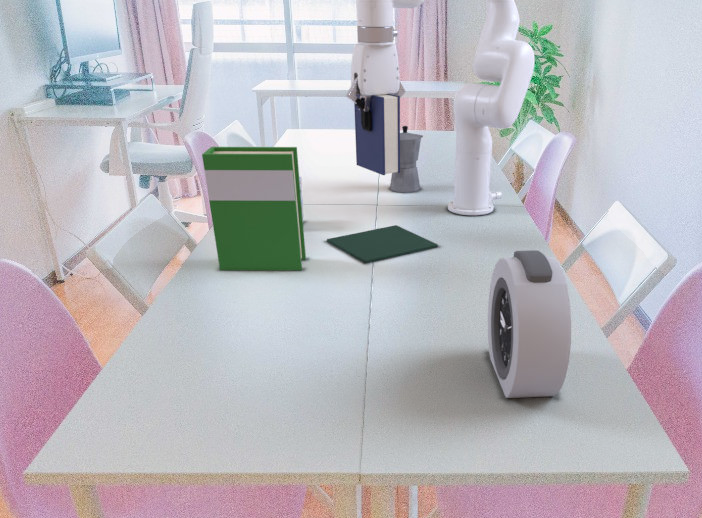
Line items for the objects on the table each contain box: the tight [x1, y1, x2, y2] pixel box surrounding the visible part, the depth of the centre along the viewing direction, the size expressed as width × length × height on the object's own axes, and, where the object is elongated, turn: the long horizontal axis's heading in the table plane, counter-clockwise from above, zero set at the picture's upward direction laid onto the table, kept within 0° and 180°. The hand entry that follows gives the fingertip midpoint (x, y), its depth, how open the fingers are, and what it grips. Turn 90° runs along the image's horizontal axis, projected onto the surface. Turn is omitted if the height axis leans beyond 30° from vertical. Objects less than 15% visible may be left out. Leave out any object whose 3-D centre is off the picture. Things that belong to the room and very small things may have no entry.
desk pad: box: [326, 224, 439, 264], centre depth 158 cm, size 20×18×1 cm
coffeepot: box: [389, 125, 424, 194], centre depth 196 cm, size 15×9×18 cm, turn 129°
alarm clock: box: [487, 249, 572, 399], centre depth 100 cm, size 21×8×20 cm, turn 5°
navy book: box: [353, 94, 401, 176], centre depth 149 cm, size 4×12×16 cm, turn 34°
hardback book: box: [201, 146, 307, 271], centre depth 140 cm, size 18×7×24 cm, turn 90°
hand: (377, 128), depth 149 cm, fingers closed on navy book, 4 cm apart
